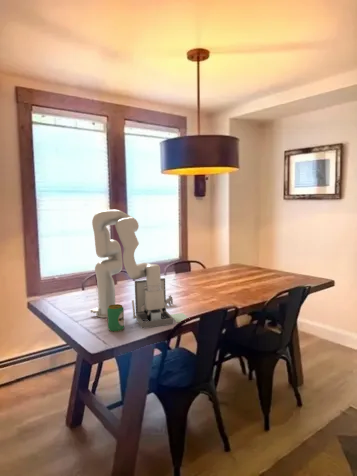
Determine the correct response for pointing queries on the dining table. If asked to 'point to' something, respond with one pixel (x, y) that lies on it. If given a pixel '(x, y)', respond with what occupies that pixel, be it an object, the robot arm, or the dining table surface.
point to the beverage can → (115, 317)
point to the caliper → (169, 300)
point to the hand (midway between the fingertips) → (154, 320)
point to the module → (155, 315)
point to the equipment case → (140, 314)
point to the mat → (179, 317)
